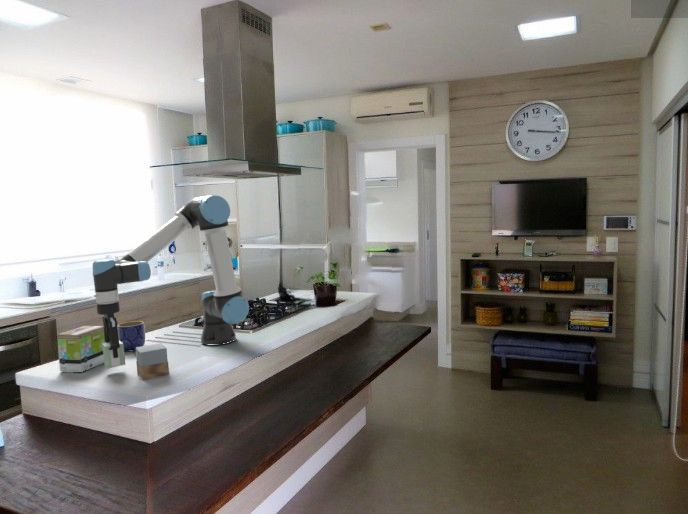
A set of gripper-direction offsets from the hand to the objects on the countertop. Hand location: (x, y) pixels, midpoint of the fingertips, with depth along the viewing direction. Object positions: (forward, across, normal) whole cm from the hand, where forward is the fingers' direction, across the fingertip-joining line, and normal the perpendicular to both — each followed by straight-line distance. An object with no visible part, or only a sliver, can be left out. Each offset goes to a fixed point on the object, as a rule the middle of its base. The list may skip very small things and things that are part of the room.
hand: (114, 363), depth 189 cm
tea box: (+4, -18, -7) cm, 20 cm away
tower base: (+4, +11, +11) cm, 16 cm away
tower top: (-1, +11, +11) cm, 15 cm away
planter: (+4, -32, +14) cm, 35 cm away
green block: (0, 0, 0) cm, 0 cm away
